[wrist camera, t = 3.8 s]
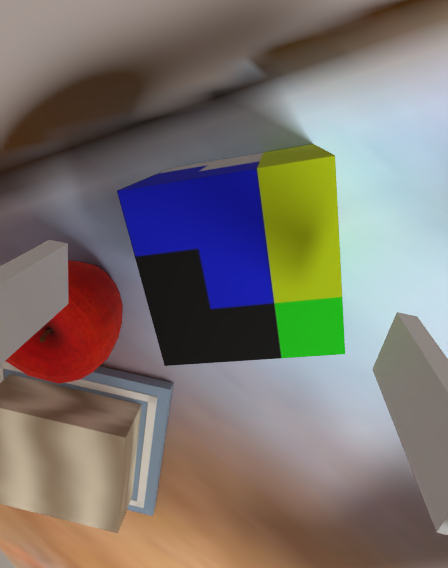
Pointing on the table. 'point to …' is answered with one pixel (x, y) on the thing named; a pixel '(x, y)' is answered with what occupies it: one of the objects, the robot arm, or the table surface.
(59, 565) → the table surface
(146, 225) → the puzzle toy
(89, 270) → the apple
